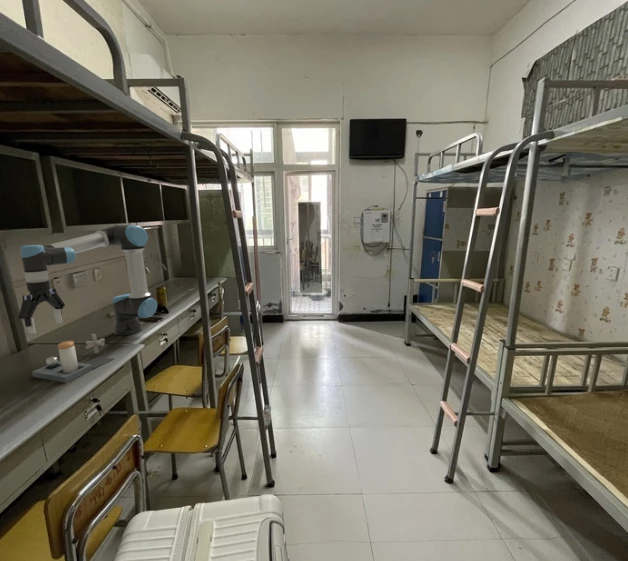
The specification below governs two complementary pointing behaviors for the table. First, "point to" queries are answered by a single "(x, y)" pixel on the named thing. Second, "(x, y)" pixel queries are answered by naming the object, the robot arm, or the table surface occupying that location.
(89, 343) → the pipe connector
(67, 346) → the cartridge
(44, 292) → the robot arm
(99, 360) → the mat
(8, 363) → the table surface
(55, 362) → the plunger
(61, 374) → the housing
